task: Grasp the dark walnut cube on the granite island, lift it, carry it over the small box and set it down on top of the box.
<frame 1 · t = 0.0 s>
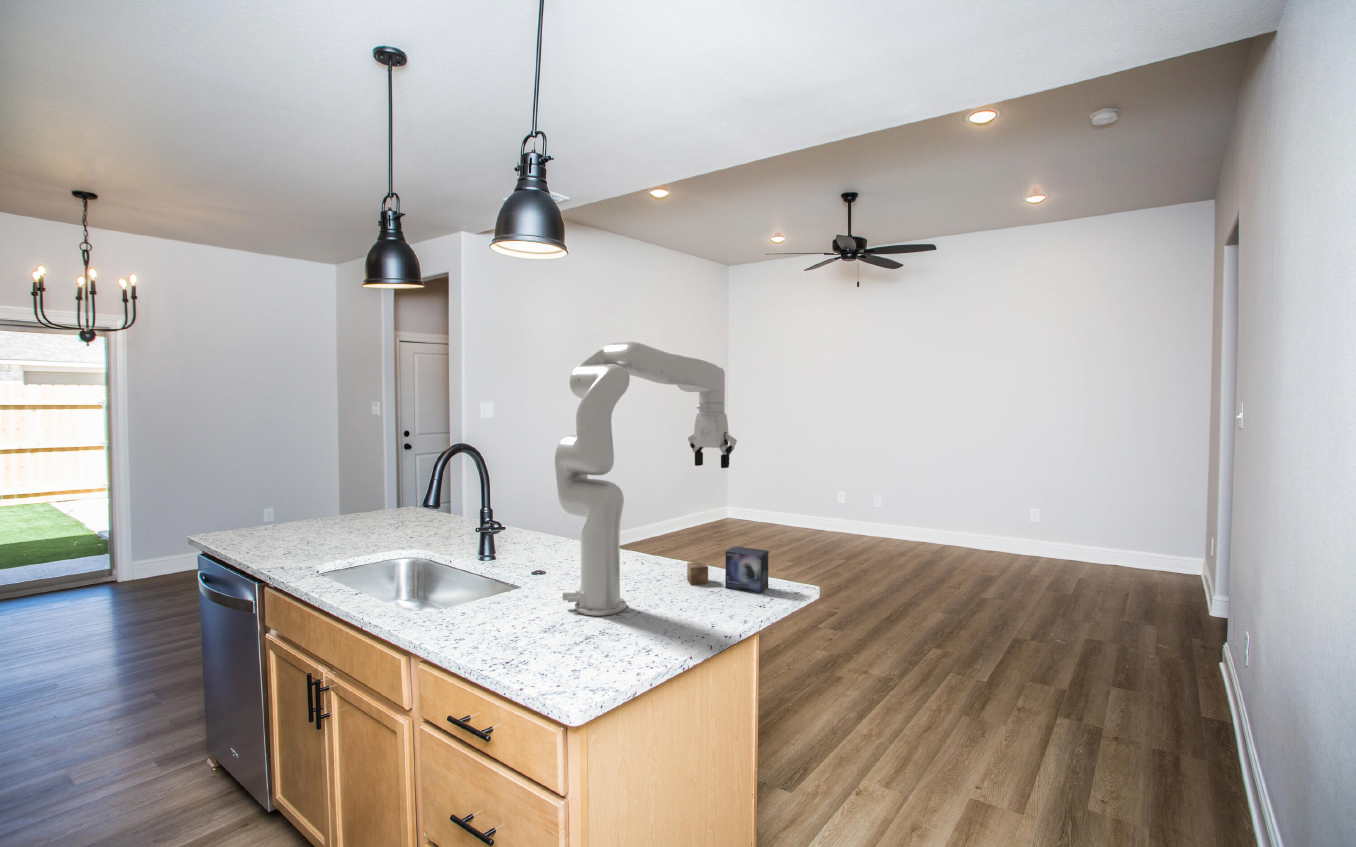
hand: (711, 466, 194), 31 cm above the table, tool pointing down, fingers open, 9 cm apart
small box: (746, 589, 178), on the table
walnut cube: (697, 582, 184), on the table
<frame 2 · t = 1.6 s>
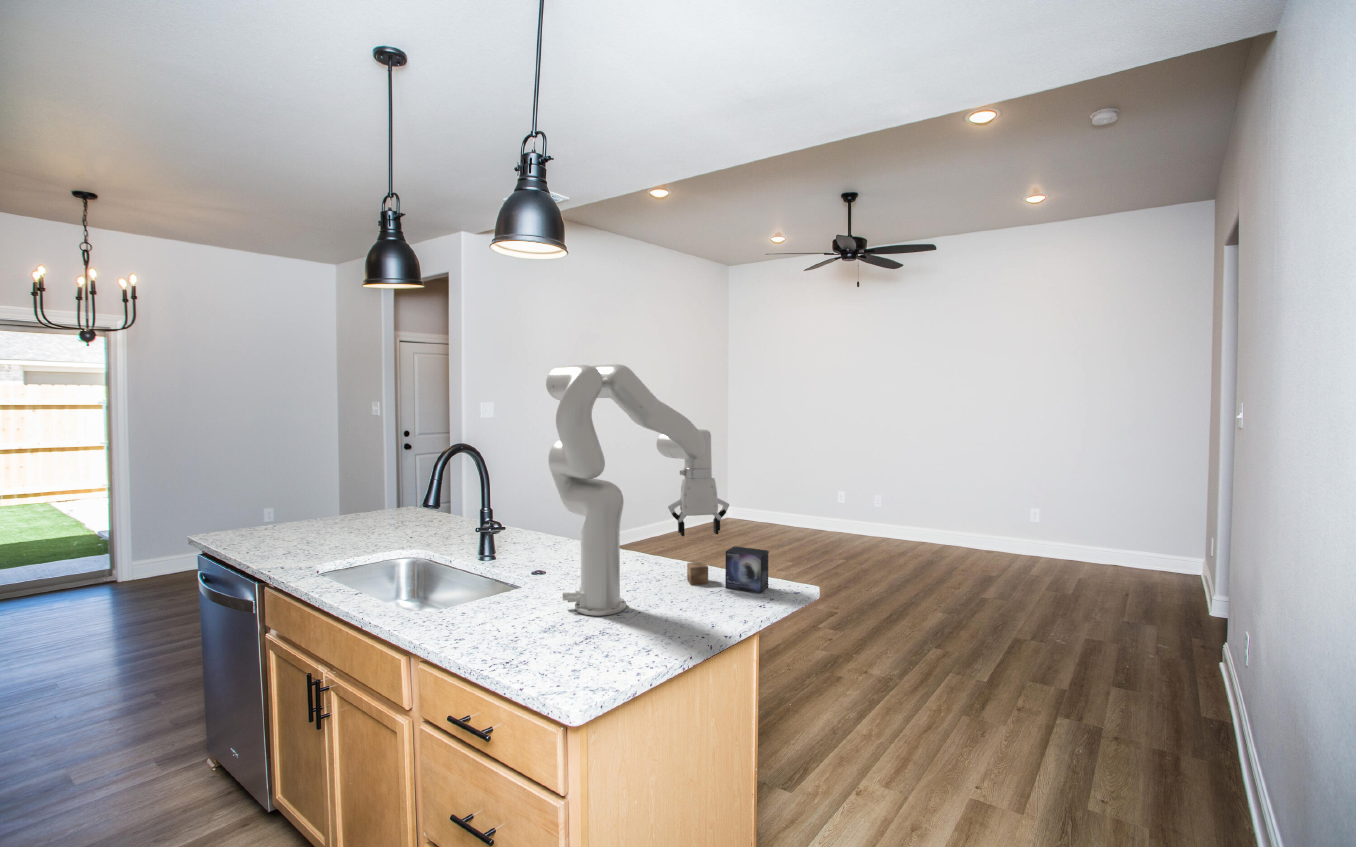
hand: (699, 534, 184), 13 cm above the table, tool pointing down, fingers open, 9 cm apart
nothing on the table moved.
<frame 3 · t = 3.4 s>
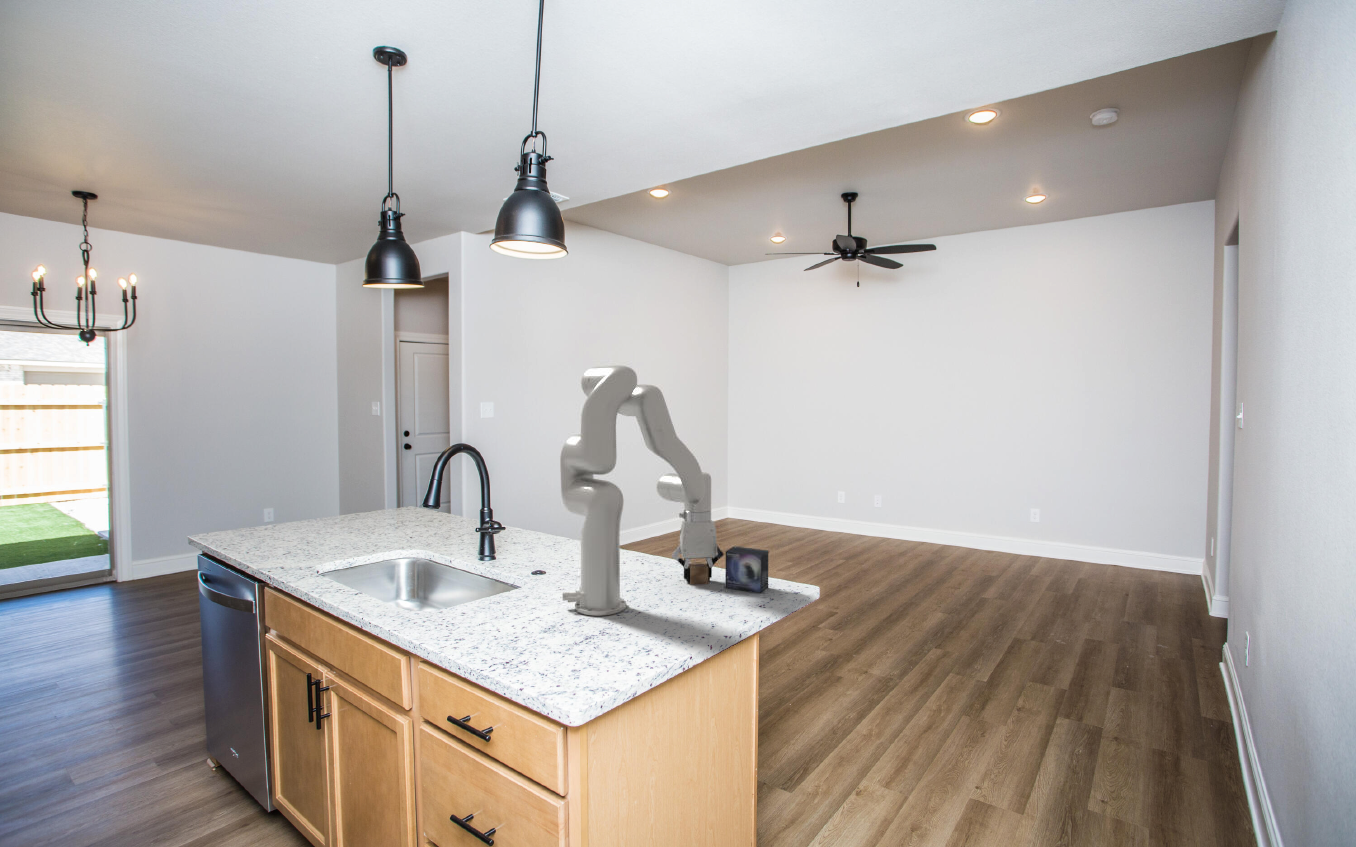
hand: (697, 580, 184), 0 cm above the table, tool pointing down, fingers closed on walnut cube, 5 cm apart
walnut cube: (697, 582, 184), on the table, touching gripper
everything else where it was.
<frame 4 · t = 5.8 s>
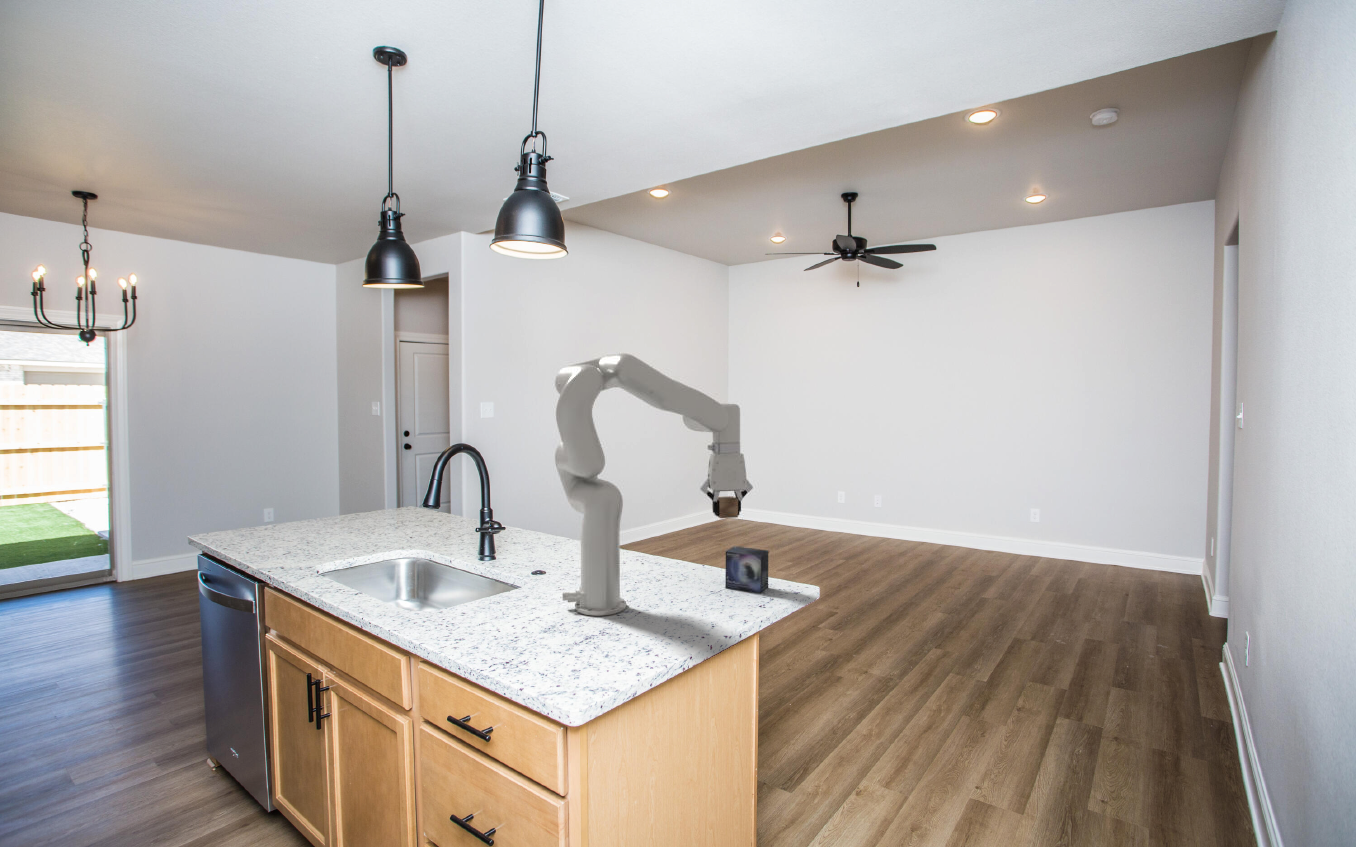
hand: (726, 514, 180), 20 cm above the table, tool pointing down, fingers closed on walnut cube, 5 cm apart
walnut cube: (726, 516, 180), point 19 cm above the table, touching gripper
everything else where it was.
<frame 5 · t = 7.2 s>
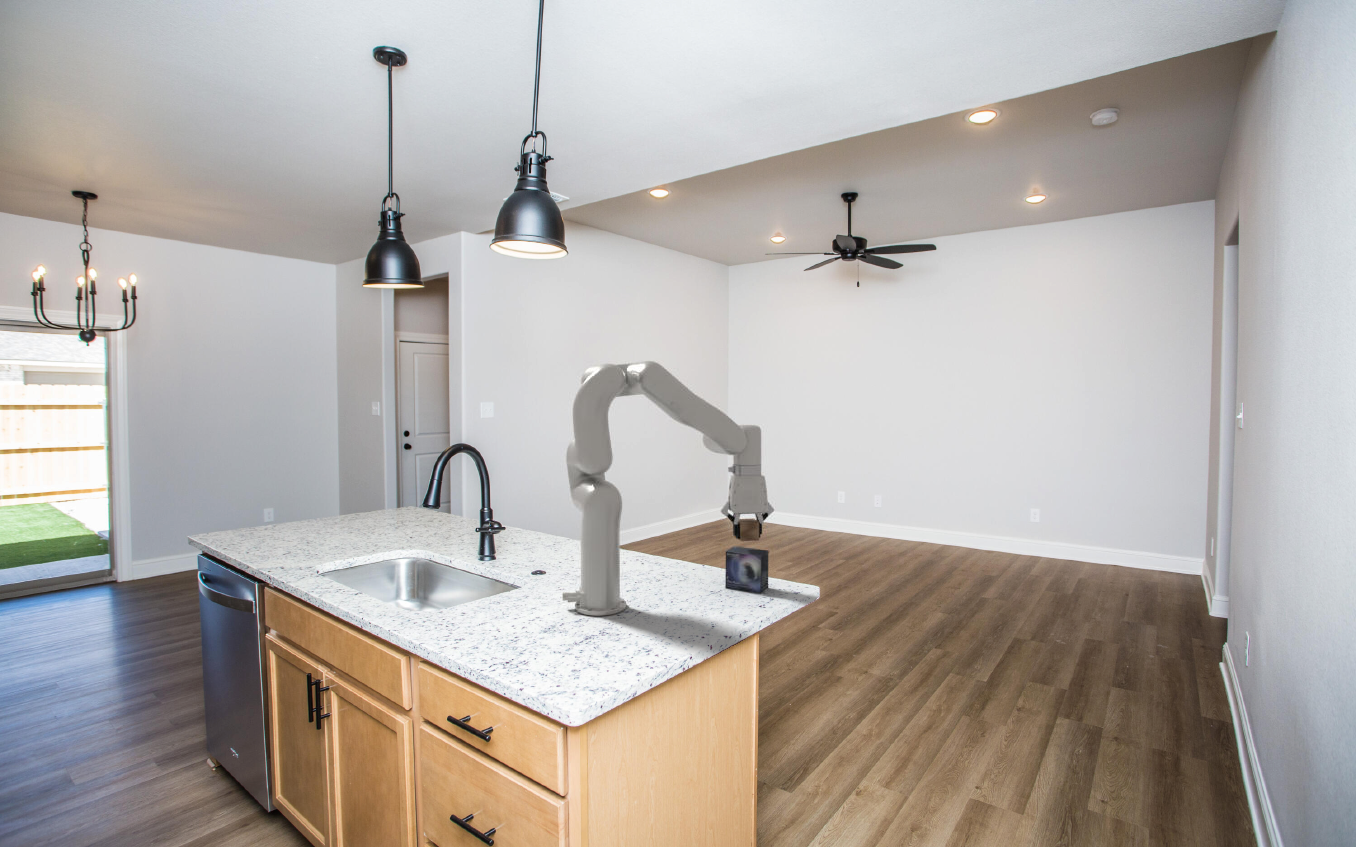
hand: (747, 536, 177), 14 cm above the table, tool pointing down, fingers closed on walnut cube, 5 cm apart
walnut cube: (747, 538, 178), point 14 cm above the table, touching gripper
everything else where it was.
when the fingers open (12 cm above the table, at t = 8.4 s): walnut cube stays where it is, resting on small box.
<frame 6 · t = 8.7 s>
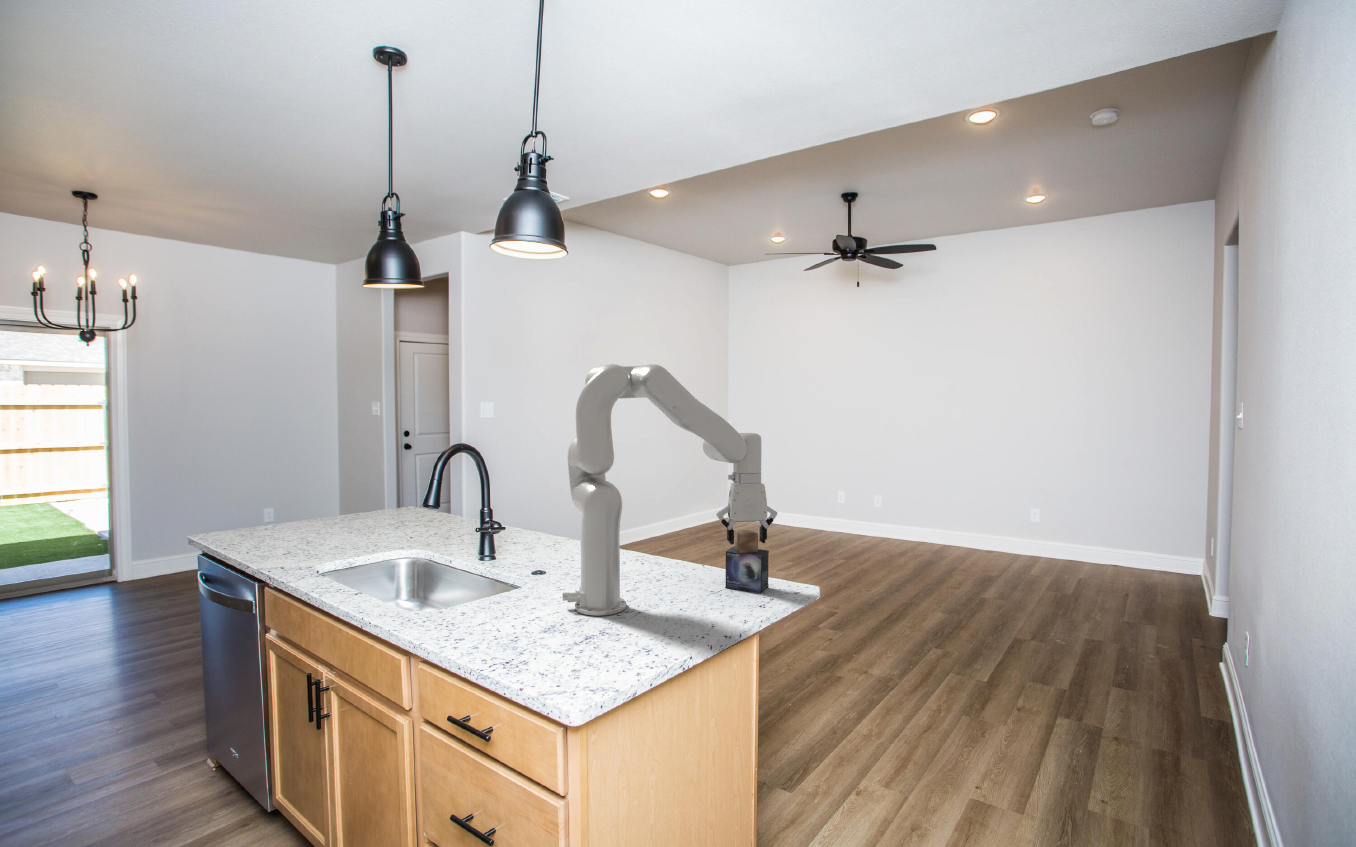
hand: (746, 542, 177), 13 cm above the table, tool pointing down, fingers open, 8 cm apart
small box: (746, 589, 178), on the table, touching walnut cube
walnut cube: (746, 550, 178), point 10 cm above the table, touching small box
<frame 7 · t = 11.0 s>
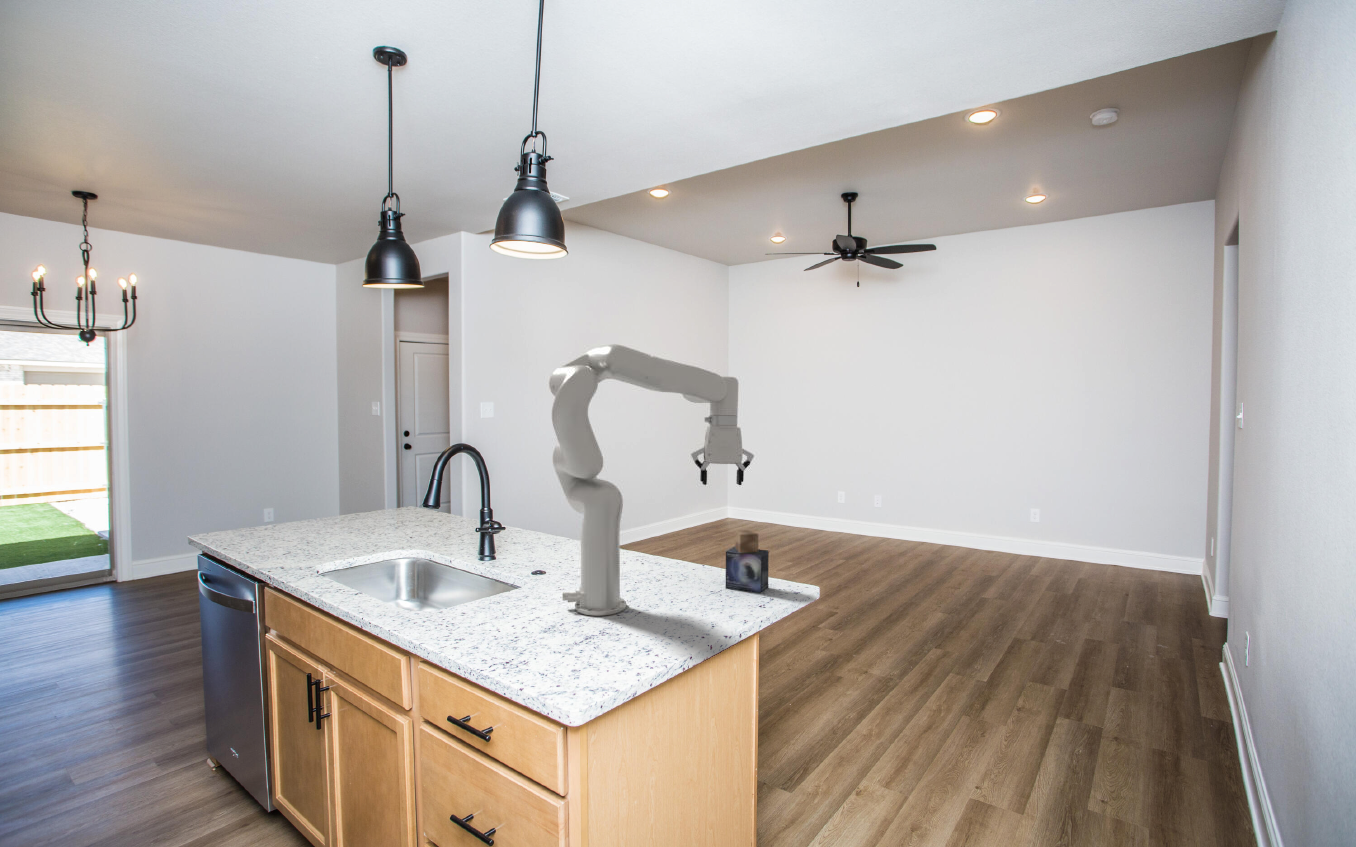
hand: (721, 484, 179), 28 cm above the table, tool pointing down, fingers open, 9 cm apart
nothing on the table moved.
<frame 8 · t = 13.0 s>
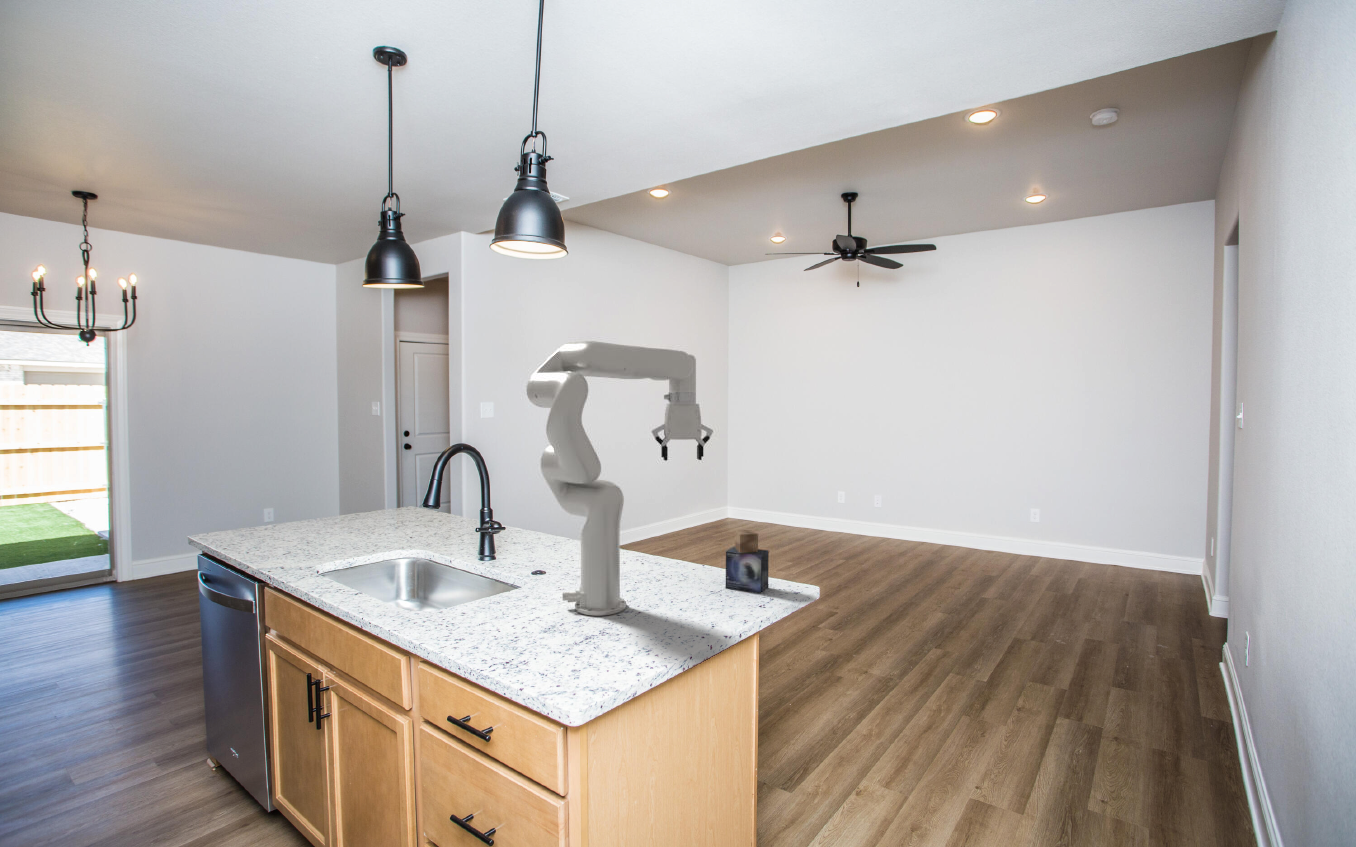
hand: (682, 459, 184), 34 cm above the table, tool pointing down, fingers open, 9 cm apart
nothing on the table moved.
at the end: walnut cube 0.1 cm off-centre on the small box, point 10.7 cm above the small box's base; walnut cube touching small box; the gripper is holding nothing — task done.
